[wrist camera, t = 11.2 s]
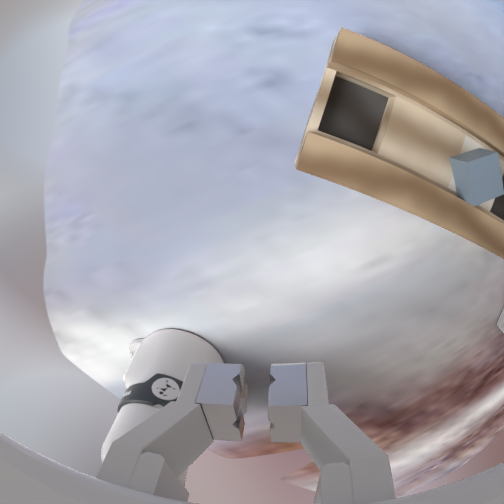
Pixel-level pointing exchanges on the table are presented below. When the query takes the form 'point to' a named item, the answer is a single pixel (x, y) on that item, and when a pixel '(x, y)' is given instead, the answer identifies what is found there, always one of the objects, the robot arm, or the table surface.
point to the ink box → (501, 321)
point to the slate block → (477, 176)
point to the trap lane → (401, 136)
